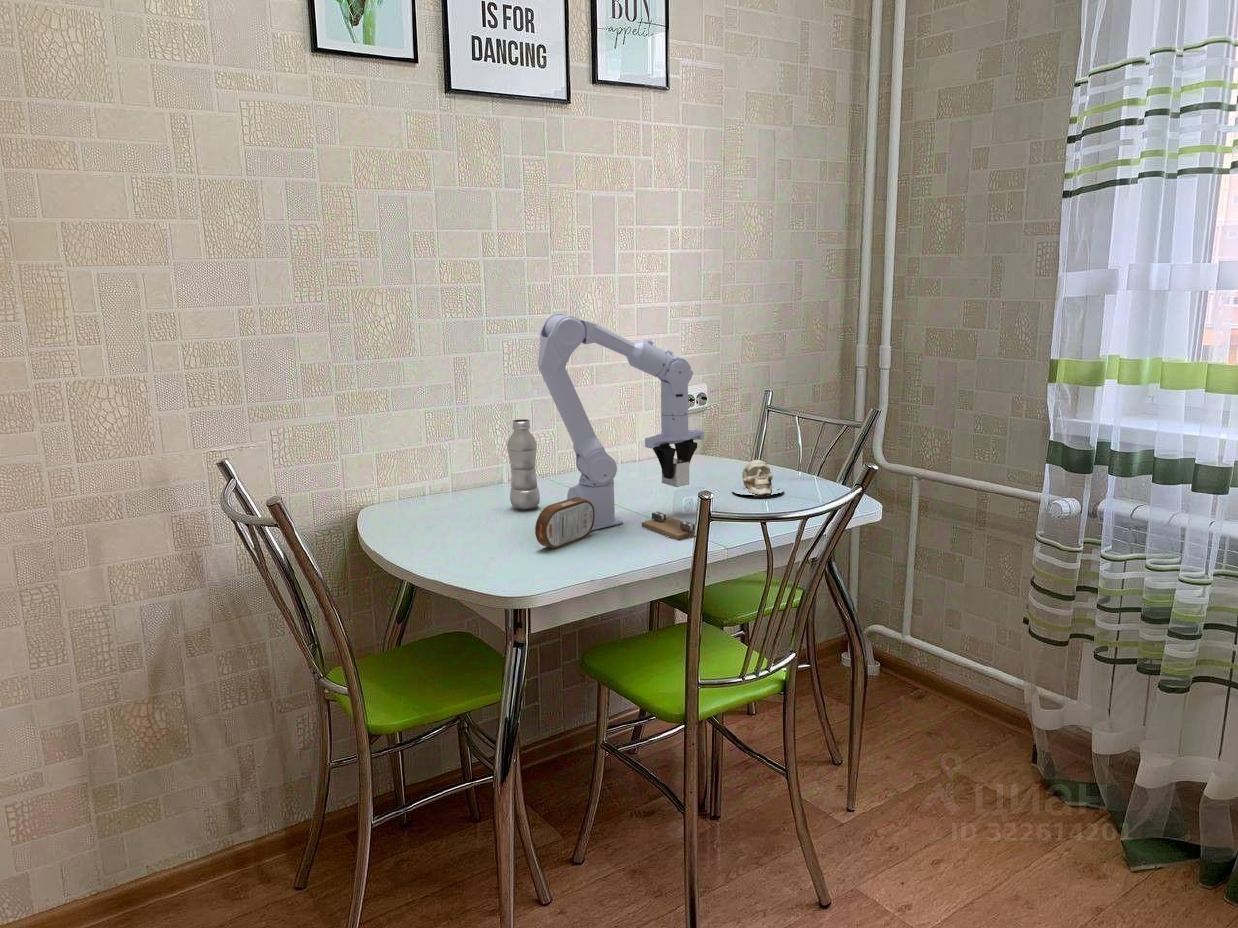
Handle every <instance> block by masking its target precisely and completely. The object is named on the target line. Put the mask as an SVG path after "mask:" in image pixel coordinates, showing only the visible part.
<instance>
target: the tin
mask: <svg viewBox="0 0 1238 928" xmlns="http://www.w3.org/2000/svg"><path fill="white" fill-rule="evenodd" d="M594 517H595V512H594V506H593V505H592V503H591V502H589V501H587V500H585V499H582V498H580V497H574V498H571V499H568V500H567V499H565V500H562V501H558V502H556V503H551V504H548V505H547V506H545V507H544V508H543V509H542V510H541V511H540V513H539V514H538V516H537V519H536V521H535V526H534V534H535V538H536V541H537V542H538V543H539V544H540V545H542V546H543V547H548V548H550V549H558V548H562V547H564V546H567V545H569V544H572V543H575V542H577V541H581V540H583V539H585V538H587V536H588V535H589V534H590V533H591V532H592V531H593V530H592V528H593V525H594Z"/></svg>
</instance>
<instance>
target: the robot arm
mask: <svg viewBox="0 0 1238 928" xmlns="http://www.w3.org/2000/svg"><path fill="white" fill-rule="evenodd" d="M539 339H540V340H539V350H538V358H537V365H538V370H539V372H540V374H541V376H542V378H543V381H544V383H545V385H546V387H547V389H548V391H549V394H550V396H551V398H552V401H553V403H554V405H555V406H556V409H557V411H558V412H559V416H560V417H561V420H562V423H563V424H564V425H565V428H566V430H567V432H568V435H569V437H570V439H571V441H572V445H573V452H574V453H575V465H576V468H577V470H578V471H579V473H581V474H580V476H579V480H578V483H577V484H576V485H574V486H571V487H570V488H569V489H568V491H567V496H566V498H567V499H566V500H568V499H571V498H574V497H580V498H582V499H585V500H587V501H589V502H591V503H592V505H593V506H594V512H595V517H594V525H593V528H592V530H591V531H595V530H599V529H603V528H604V529H605V528H608V527H612V526H613V527H614V526H618V525H622V524H624V520H621V519H619V518H616V517H615V515H616V514H615V512H616V511H615V507H616V506H615V479H614V478H615V477H616V475H617V472H618V467H617V462H616V461H615V459H614V457H612V456H610V455H609V454H608V453H607V451H606V450H605V448H604V446H603V444H602V443H601V441H600V439H599V438H598V437H597V435H596V433H595V431H594V428H593V426H592V424H591V422H590V419H589V418H588V415H587V412H586V411H585V409H584V406H583V404H582V402H581V400H580V398H579V395H578V393H577V391H576V389H575V386H574V384H573V381H572V380H571V377H570V375H569V372H568V371H567V368H566V366H567V364H568V362H569V360H570V357H571V355H572V354H573V353H574V352H575V350H577V348H579V346H580V345H581V344H584V345H589V344H597V345H599V346H600V347H603V348H604V347H605V349H609V350H611V351H613V352H616V353H618V354H621V355H622V356H625V357H626V359H627V361H628V364H629V366H630V367H633V368H635V369H636V370H637V369H638V370H639V371H642V372H644V373H646V374H647V375H650V376H652V377H654V378H658V379H659V381H660V420H661V421H660V427H661V428H660V429H661V430H660V432H661V433H659V434H656V435H653V436H650V437H645V438H644V447H645V448H646V449H647V448H648V449H652V450H653V452H654V454H655V455H656V458H657V460H658V462H659V465H660V468H661V473H662V472H663V476H664V478H667V479H672V475H673V460H674V458H675V456H676V458H677V459H682V460H684V461H688V462H689V465H690V464H691V460H692V458H693V456H694V454H695V452H696V450H697V448H698V442H696V441H697V440H699V441H703V440H704V439H705V430H702V429H698V428H697V429H690V430H689V383H690V381H691V380H692V378H693V375H694V371H693V370H692V367H691V364H689V361H687V360H686V359H684V358H681V357H679V356H678V357H677V356H675V355H674V352H673V351H672V350H669V349H668V350H664V349H663V348H660V347H657V346H656V345H654V341H652V340H650V339H646V340H643V339H640V340H637V341H634V342H632V341H630V340H629V339H627V338H624V337H623V336H621V335H619V334H617V333H615V332H613V331H611V330H609V329H607V328H605V327H603V326H601V325H599V324H597V323H594V322H591V321H587V320H584V319H580V318H578V317H576V316H573V315H565V313H564V314H563V313H555V314H552V315H550V316H548V318H547V319H546V320H545V321H544V324H543V326H542V328H541V329H540V332H539ZM694 441H695V442H694ZM671 445H674V447H672V446H671ZM675 454H676V455H675Z"/></svg>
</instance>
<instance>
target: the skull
mask: <svg viewBox="0 0 1238 928" xmlns="http://www.w3.org/2000/svg"><path fill="white" fill-rule="evenodd" d="M772 480H773V473H772V471H771V468H770V467H769V466H768V464H767V462H765V461H763V460H761V459H753V460H751V461H749V462H748V463H746V465H745V466H744V468H743V471H742V482H743V486H744V487H745V488H747V489H748V492H749V493H752V494H755V495H759V496H758V497H766V496H767V495H771V493H772V487H773V484H772ZM767 497H768V496H767Z"/></svg>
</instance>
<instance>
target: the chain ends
mask: <svg viewBox="0 0 1238 928" xmlns="http://www.w3.org/2000/svg"><path fill="white" fill-rule="evenodd" d="M666 517H667V514H666V513H663V512H661V511H655V512H652V513H651V520H653V519H654V520H658V521H659V522H664V520H666ZM695 526H696V524H695V523H692V522H689V521H687V520H686V521H684V522H680V528H681V529H682V530H684V531H685V530H686V531H687V532H693V530H695Z"/></svg>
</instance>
